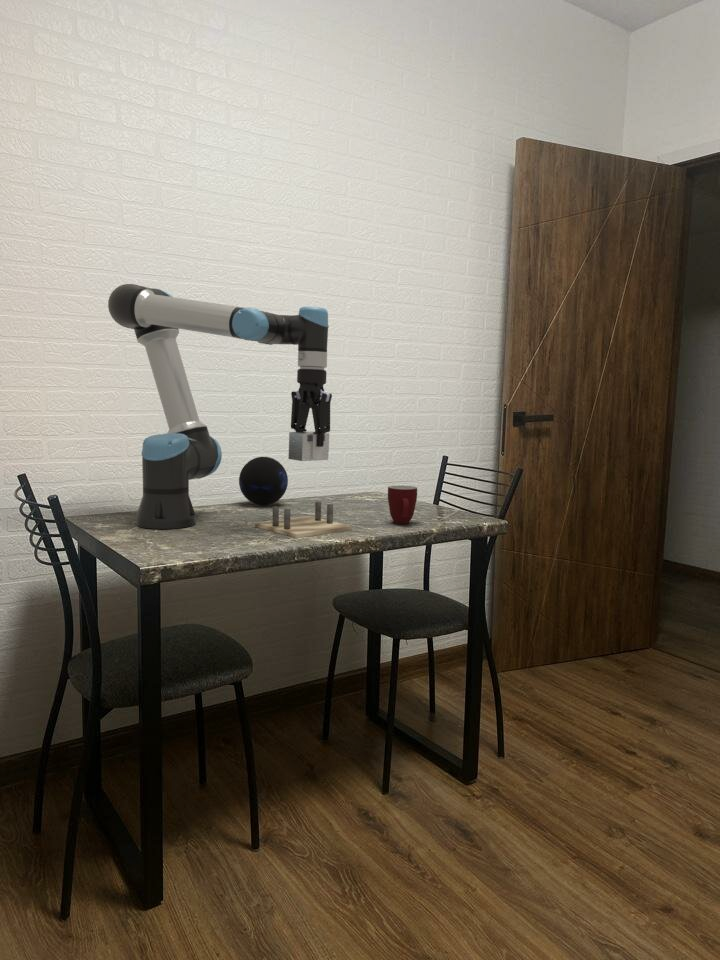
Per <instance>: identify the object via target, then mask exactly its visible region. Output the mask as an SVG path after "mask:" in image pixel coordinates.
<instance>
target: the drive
mask: <svg viewBox="0 0 720 960" xmlns="http://www.w3.org/2000/svg"><path fill="white" fill-rule="evenodd" d="M313 432H314V431H306V432H296V431H289V433H288V434H289V435H288V458H287V459H288V460H291V461H292V460H293V461H300V462H309V461H310V462H311V461H312V462H314V461H328V460H329V454H330V453H329V450H330V432H327V433H325V434H324V442H323V443H324V445H323V447H322V459H316V460H313V459H312V447H313Z"/></svg>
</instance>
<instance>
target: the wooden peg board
mask: <svg viewBox="0 0 720 960" xmlns="http://www.w3.org/2000/svg"><path fill="white" fill-rule="evenodd" d="M314 507H315V508H314V516H310V515H307V516H299V517H291V508H283V511H284V512H283V514H284V515H283V519H280V506H277V505H274V506H272V520H268V521H267V520H266V521H259V522H254V527H255V528H258V529H262V530H266V531H269V532H272V533H273V532H274V533H277V534H280V535H284V536H287V535H288V536H287V537H291V536H292V538H294V537H295V539H298V538H299V537H300V538H304V537H305V538H307V537H311V536H312V537H313V536H319V535H326V534H332V533H333V534H334V533H339V532H345V531H352V530H353V529H352V528H353V527H352V525H349V524H344V523H340V522H335V521H334V503H328V504H326V519H323V518H322V501H315V502H314ZM300 538H299V539H300Z"/></svg>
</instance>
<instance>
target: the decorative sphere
mask: <svg viewBox="0 0 720 960" xmlns="http://www.w3.org/2000/svg"><path fill="white" fill-rule="evenodd" d="M288 483H289V479H288V473H287V470H286V469H285V467H284V466H283V464H282V463H280V461H278V460H276V459H275V458H273V457H269V456H258V457H254V458H252V459H251V460H249V461H247V463H245V464H244V466H243V467H242V468H241V471H240V473H239V477H238V485H239V486H238V487H239V489H240V492H241V494H242V495H243V497H244V498H245V499H247V500H248V501H249V502H251V503H252V504H254V505H259V506H269V505H273V504H275V503H277V502H278V501H279V500H280V499H281V498H282V497H283V496H284V495H285V493H286V491H287V489H288V485H289V484H288Z"/></svg>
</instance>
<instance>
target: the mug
mask: <svg viewBox="0 0 720 960" xmlns="http://www.w3.org/2000/svg"><path fill="white" fill-rule="evenodd" d="M417 497H418V487H416V486H411V485H400V484H399V485H389V486H387V502H388V507H389V513H390V516H391V519H392V521H393V523H394V524H396V525H402V524H403V525H409V524H410V522H411V521H412V518H413V516H414V513H415V511H416V510H415V509H416V505H417V500H418V499H417Z"/></svg>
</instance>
